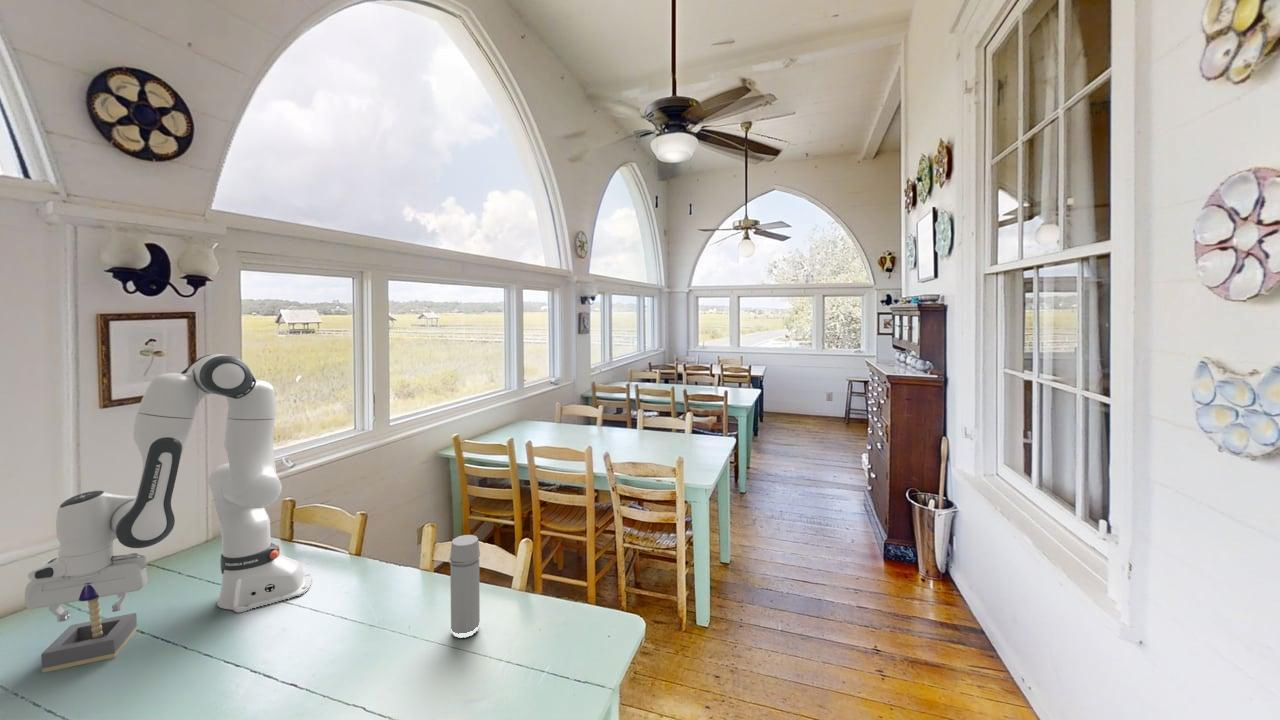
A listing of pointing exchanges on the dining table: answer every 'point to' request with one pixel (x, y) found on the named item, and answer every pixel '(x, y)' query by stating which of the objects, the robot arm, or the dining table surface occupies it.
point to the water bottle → (464, 583)
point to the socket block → (88, 643)
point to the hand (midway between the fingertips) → (91, 614)
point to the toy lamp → (93, 610)
